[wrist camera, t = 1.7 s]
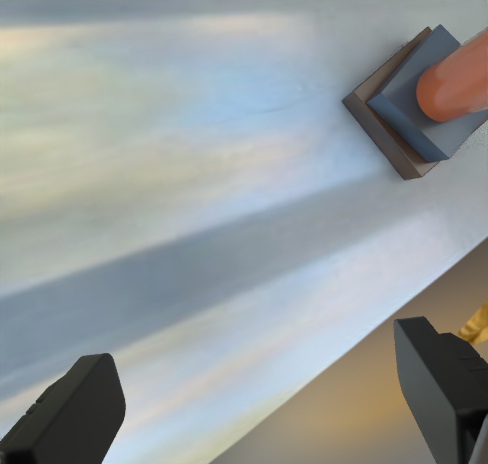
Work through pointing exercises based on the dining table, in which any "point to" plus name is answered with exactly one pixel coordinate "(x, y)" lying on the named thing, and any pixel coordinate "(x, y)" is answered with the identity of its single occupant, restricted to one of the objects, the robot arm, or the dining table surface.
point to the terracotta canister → (456, 82)
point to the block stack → (410, 108)
